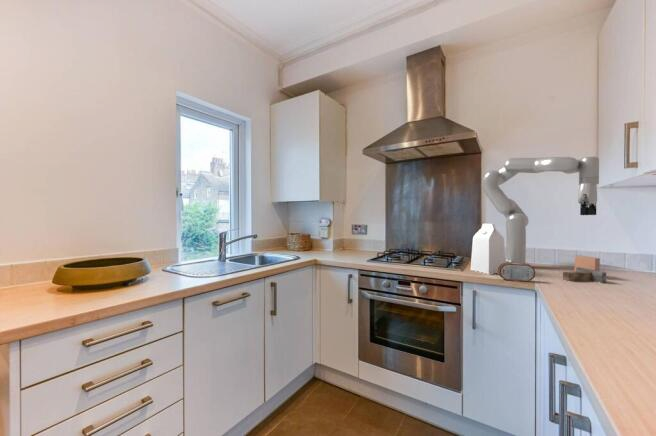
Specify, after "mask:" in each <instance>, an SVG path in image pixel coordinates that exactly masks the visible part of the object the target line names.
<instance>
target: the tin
mask: <svg viewBox="0 0 656 436" xmlns="http://www.w3.org/2000/svg"><path fill="white" fill-rule="evenodd" d="M497 275H498V276H499V277H500V278H502V279H503V280H505V281H511V280H512V281H513V280H528V281H527V282H530V281H533V280H534V278H535V277H536V270H535V268H534V267H533V266H532V265H531V264H529V263H526V262H525V263H513V262H505V263H502V264H501V265H500V266H499V267H498V274H497ZM529 280H530V281H529Z"/></svg>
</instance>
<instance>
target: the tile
mask: <svg viewBox="0 0 656 436" xmlns="http://www.w3.org/2000/svg"><path fill="white" fill-rule="evenodd" d="M600 262H601V258H599V257H593V256H588V255H580V254H578V255H577V254H576V255H574V271H573V272H576V267H581V268H586V269H591V270H596V271H600V267H601V265H600Z"/></svg>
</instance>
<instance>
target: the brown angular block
mask: <svg viewBox="0 0 656 436" xmlns="http://www.w3.org/2000/svg"><path fill="white" fill-rule="evenodd" d="M564 280H566V282H568V281H574V282H594V281H596V282H595V283H598V282H600V283H599V284H606V283H607V272H606V271H600V270H599V271H596V270H591V269H586V268H581V267H576V272H574V271H563V272H562V281H564Z"/></svg>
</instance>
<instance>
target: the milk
mask: <svg viewBox="0 0 656 436" xmlns="http://www.w3.org/2000/svg"><path fill="white" fill-rule="evenodd" d="M505 250H506V248H505V237H504V236H503V235H502V234H501V232H499V231H498V230H497V229H496V226H495V224H494V223H485V222H484V223H482V225H481V228H480V229H478V231H477V232H475V234H474V235H473V237H472V245H471V259H470V271H473V270H474V271H473V272H477V271H479V272H478V273H481V272H483V273H482V274H484V273H487V274H486V275H488V274H490V275H493V274H492V273H498V267H499V266H500V265H501V264H502V263H505V258H506V251H505Z"/></svg>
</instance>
